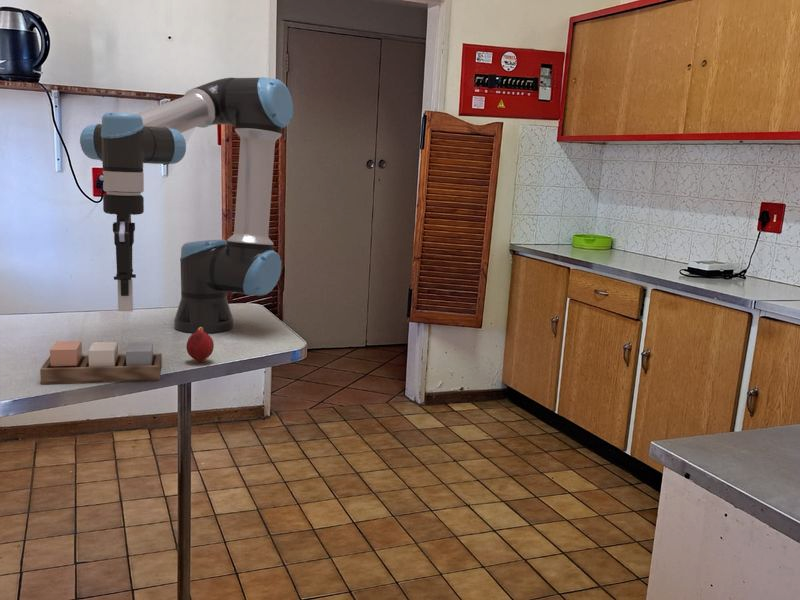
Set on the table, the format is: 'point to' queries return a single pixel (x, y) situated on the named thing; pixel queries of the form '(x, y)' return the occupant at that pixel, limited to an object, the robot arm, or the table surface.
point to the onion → (200, 345)
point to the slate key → (139, 354)
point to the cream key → (103, 354)
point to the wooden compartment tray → (100, 372)
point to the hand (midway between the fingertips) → (125, 310)
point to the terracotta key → (66, 353)
